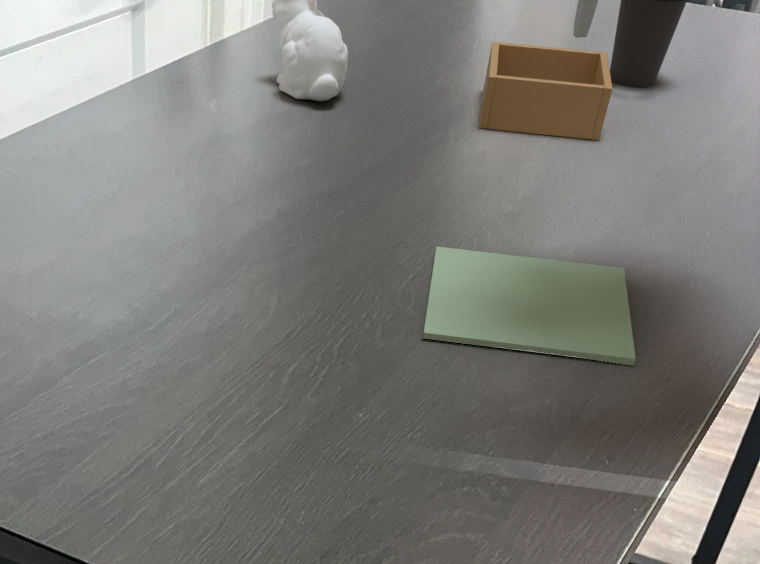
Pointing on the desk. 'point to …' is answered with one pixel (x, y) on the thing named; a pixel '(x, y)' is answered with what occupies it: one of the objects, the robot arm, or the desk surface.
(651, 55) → the coffee cup
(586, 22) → the pen
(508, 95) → the storage box
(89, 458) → the desk surface
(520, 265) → the mat
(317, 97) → the rabbit
